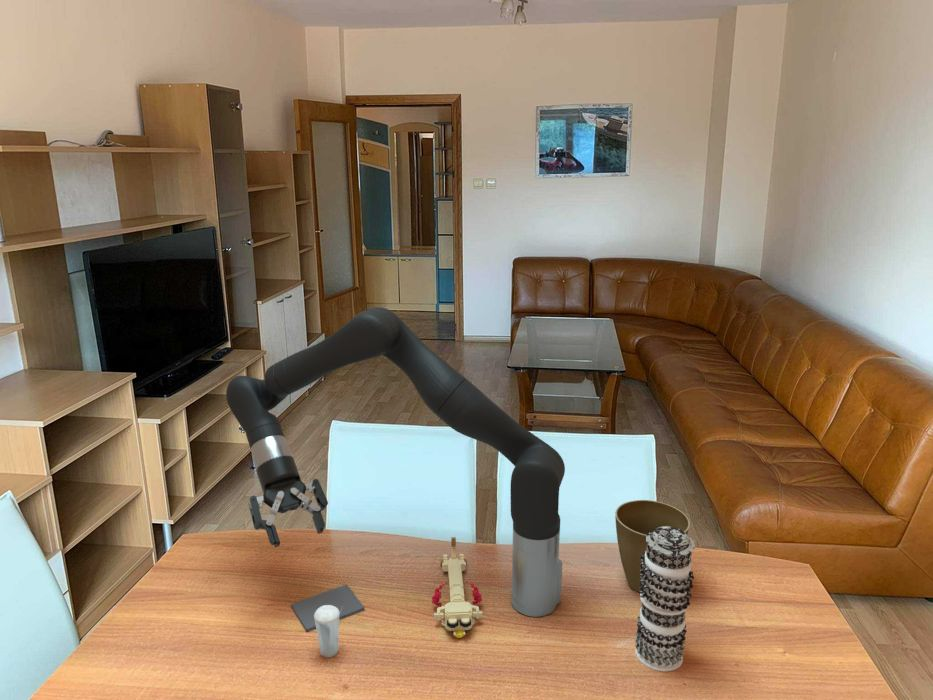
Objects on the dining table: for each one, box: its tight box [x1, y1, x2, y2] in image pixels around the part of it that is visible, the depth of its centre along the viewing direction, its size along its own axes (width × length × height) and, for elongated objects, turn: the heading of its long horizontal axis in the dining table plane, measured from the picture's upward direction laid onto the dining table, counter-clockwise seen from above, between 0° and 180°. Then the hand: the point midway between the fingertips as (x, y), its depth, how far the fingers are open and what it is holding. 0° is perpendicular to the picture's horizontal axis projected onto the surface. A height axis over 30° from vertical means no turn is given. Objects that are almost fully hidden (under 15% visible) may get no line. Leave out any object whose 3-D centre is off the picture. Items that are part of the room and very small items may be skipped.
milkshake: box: [314, 605, 343, 658], centre depth 123 cm, size 4×5×10 cm
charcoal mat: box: [290, 584, 365, 633], centre depth 136 cm, size 12×9×1 cm
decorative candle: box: [635, 526, 696, 673], centre depth 120 cm, size 9×9×25 cm
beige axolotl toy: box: [431, 536, 483, 639], centre depth 138 cm, size 10×9×25 cm
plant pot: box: [614, 499, 691, 593], centre depth 142 cm, size 15×15×16 cm
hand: (299, 538), depth 129 cm, fingers open, 8 cm apart
